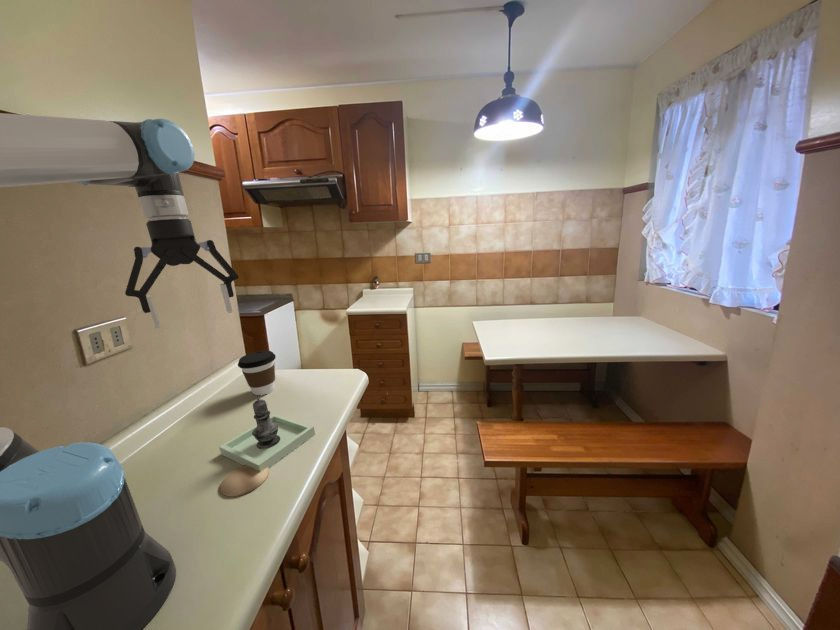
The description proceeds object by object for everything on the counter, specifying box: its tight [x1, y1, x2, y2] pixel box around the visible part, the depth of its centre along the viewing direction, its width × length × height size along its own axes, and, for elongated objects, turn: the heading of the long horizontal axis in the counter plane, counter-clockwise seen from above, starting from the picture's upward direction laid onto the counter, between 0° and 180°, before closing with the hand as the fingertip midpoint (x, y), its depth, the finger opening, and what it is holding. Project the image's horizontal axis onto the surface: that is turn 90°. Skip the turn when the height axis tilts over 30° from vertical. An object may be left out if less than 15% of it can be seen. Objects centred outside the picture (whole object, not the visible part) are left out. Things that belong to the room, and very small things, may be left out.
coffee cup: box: [237, 350, 277, 397], centre depth 108 cm, size 11×11×12 cm
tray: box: [218, 413, 316, 472], centre depth 81 cm, size 15×15×2 cm
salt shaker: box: [252, 396, 280, 449], centre depth 80 cm, size 6×6×12 cm
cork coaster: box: [220, 465, 270, 498], centre depth 70 cm, size 9×9×1 cm
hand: (195, 319), depth 75 cm, fingers open, 13 cm apart
